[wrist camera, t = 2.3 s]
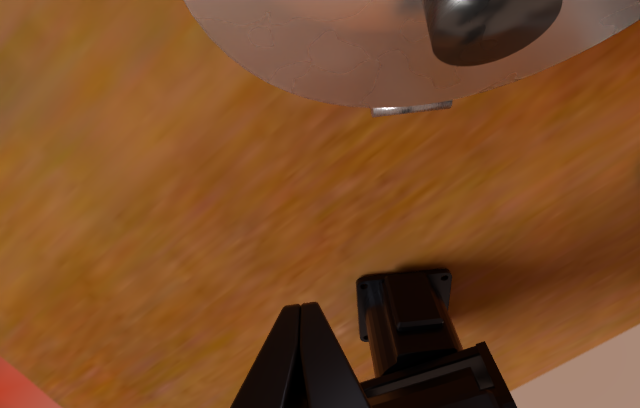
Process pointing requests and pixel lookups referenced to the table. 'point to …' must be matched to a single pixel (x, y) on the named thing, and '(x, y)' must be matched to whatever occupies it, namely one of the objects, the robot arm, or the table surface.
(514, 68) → the cooker lid
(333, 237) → the table surface
